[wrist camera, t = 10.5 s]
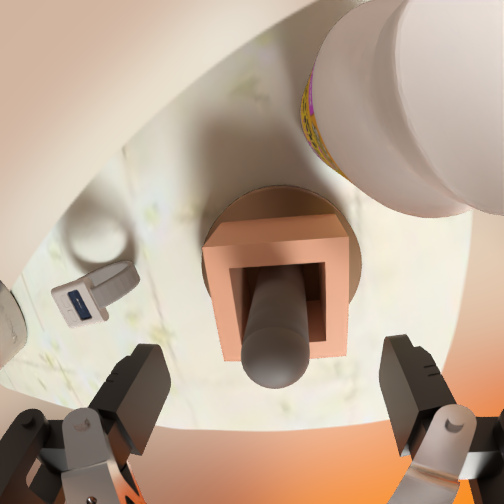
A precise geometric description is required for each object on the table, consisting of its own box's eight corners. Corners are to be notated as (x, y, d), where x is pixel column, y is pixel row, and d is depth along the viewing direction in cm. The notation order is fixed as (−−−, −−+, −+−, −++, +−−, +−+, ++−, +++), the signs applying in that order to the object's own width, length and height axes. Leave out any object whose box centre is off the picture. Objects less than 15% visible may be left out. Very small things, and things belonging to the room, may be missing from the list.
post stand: (219, 326, 21) (177, 445, 12) (197, 193, 18) (106, 254, 8) (354, 319, 20) (387, 442, 10) (354, 180, 17) (429, 231, 7)
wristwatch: (93, 298, 21) (56, 332, 17) (77, 265, 21) (36, 295, 16) (157, 279, 20) (124, 318, 16) (141, 241, 19) (101, 273, 15)
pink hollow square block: (236, 319, 19) (224, 361, 15) (221, 222, 17) (202, 247, 13) (336, 313, 18) (346, 355, 14) (334, 213, 16) (348, 236, 12)
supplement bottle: (292, 64, 15) (296, -85, 3) (405, 64, 14) (559, -11, 2) (305, 181, 17) (347, 283, 5) (416, 175, 16) (585, 253, 4)
